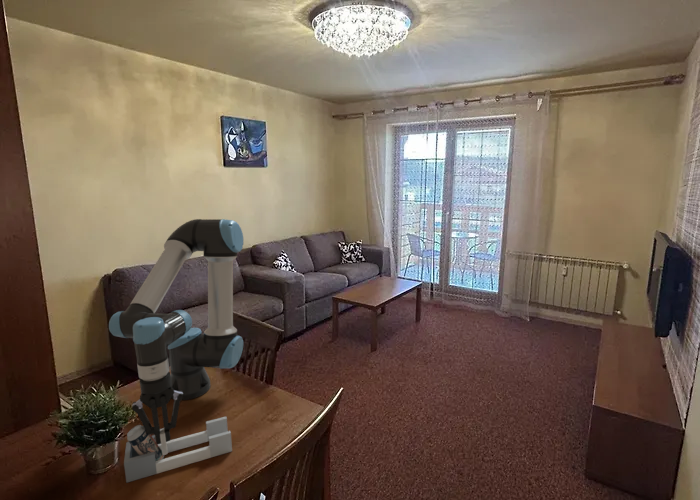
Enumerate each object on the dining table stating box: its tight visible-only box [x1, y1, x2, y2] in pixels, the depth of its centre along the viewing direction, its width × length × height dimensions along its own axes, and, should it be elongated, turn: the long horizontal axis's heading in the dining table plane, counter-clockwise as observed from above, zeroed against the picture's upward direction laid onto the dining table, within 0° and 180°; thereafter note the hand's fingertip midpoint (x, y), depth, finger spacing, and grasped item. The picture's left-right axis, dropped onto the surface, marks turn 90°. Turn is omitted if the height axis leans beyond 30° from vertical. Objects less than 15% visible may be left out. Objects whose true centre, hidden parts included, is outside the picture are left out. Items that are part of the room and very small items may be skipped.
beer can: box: [126, 424, 165, 461], centre depth 107 cm, size 5×5×12 cm
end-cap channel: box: [123, 416, 233, 484], centre depth 112 cm, size 9×27×6 cm, turn 116°
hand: (165, 451), depth 110 cm, fingers closed
